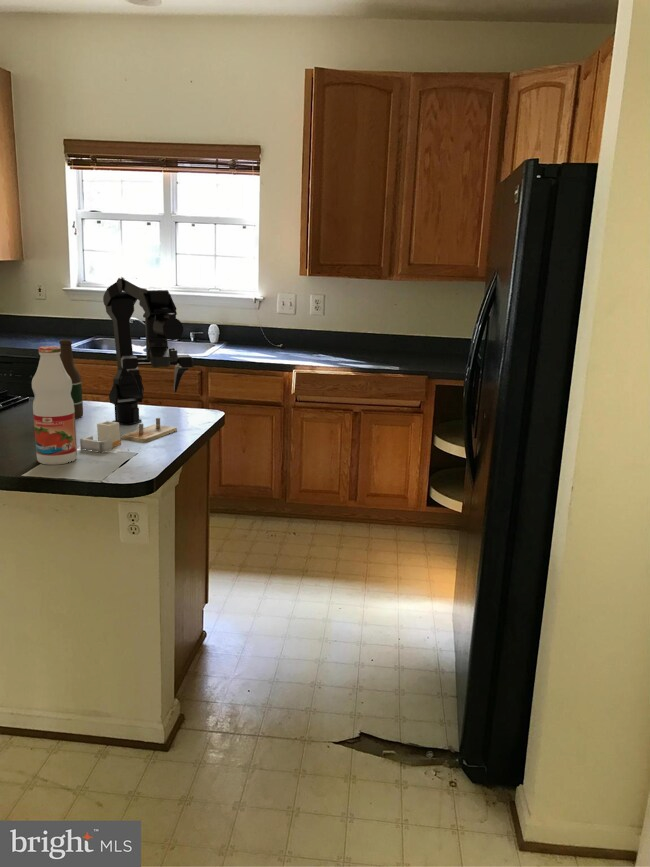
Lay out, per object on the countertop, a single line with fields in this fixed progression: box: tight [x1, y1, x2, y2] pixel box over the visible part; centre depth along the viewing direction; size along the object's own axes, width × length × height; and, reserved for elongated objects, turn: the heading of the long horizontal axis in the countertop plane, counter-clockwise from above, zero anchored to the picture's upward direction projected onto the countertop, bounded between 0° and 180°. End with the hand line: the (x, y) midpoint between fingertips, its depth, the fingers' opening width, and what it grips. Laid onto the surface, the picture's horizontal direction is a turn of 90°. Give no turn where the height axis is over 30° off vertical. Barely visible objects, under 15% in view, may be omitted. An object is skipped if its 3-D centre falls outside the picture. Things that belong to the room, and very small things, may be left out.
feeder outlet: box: [79, 435, 113, 453], centre depth 181 cm, size 7×4×3 cm, turn 68°
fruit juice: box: [31, 345, 78, 466], centre depth 168 cm, size 9×9×28 cm
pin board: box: [121, 417, 178, 443], centre depth 197 cm, size 8×15×4 cm, turn 158°
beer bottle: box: [58, 338, 84, 419], centre depth 213 cm, size 8×8×24 cm
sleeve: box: [96, 420, 122, 448], centre depth 185 cm, size 4×4×6 cm
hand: (158, 392), depth 190 cm, fingers open, 9 cm apart
